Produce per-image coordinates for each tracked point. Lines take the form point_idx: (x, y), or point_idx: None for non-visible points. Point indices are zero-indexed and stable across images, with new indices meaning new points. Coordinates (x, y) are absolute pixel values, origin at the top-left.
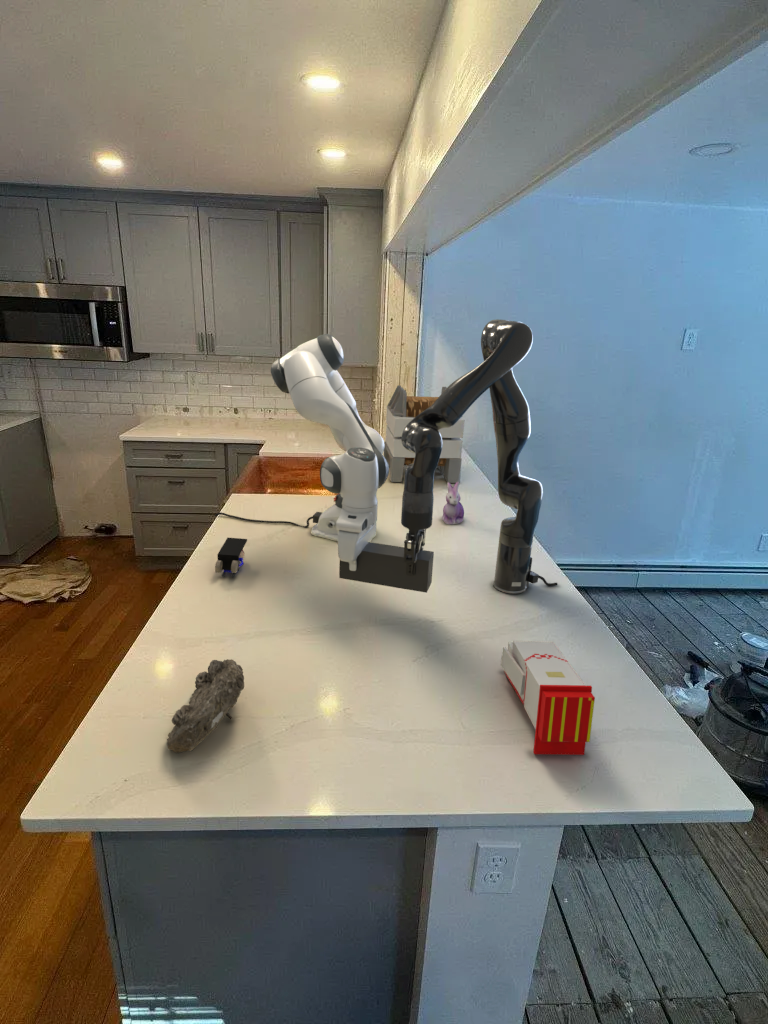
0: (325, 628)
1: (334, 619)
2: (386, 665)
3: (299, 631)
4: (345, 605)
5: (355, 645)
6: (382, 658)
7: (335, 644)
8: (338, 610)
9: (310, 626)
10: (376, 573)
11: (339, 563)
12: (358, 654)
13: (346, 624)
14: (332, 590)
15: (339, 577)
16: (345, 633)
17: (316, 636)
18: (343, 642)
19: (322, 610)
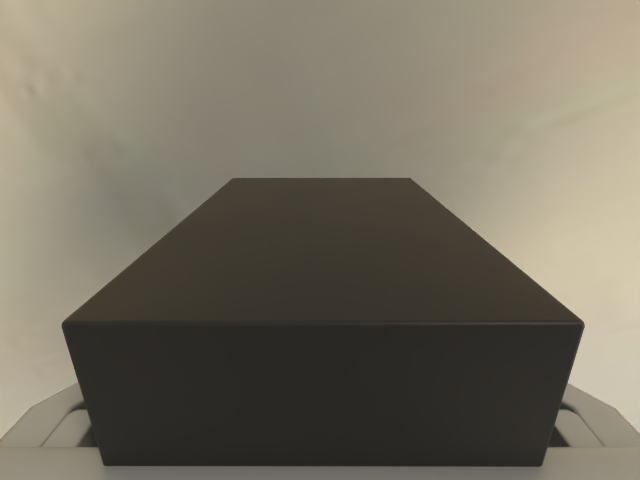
0: (92, 151)
1: (177, 161)
2: (19, 399)
3: (3, 45)
4: (310, 165)
5: (56, 294)
6: (43, 383)
7: (17, 230)
8: (255, 150)
9: (69, 79)
10: None
11: (192, 212)
12: (16, 318)
13: (165, 221)
14: (437, 44)
15: (231, 180)
16: (105, 239)
17: (18, 139)
18: (47, 252)
19: (224, 76)
